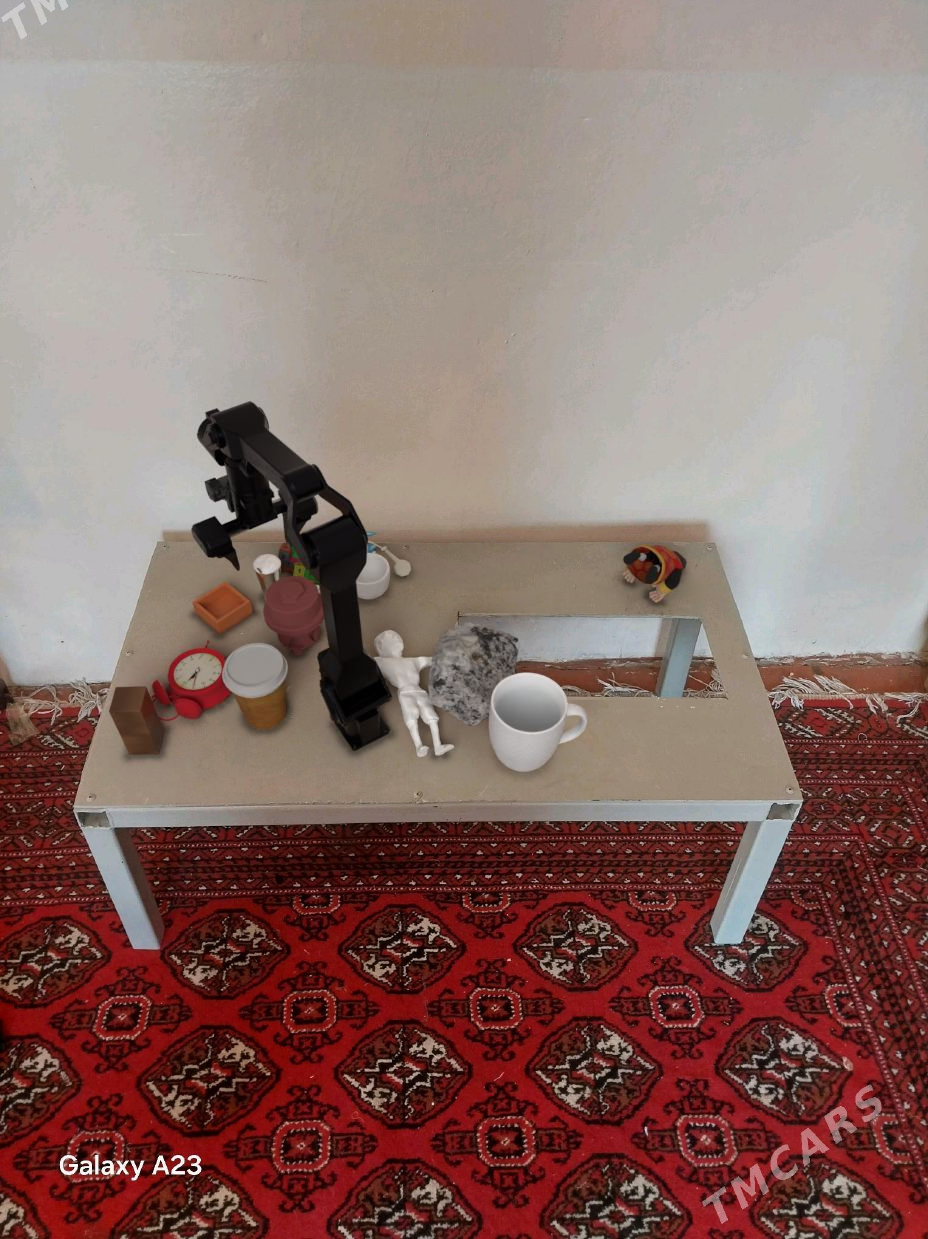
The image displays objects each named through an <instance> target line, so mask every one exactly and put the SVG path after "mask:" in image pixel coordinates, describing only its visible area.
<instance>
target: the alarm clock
mask: <svg viewBox="0 0 928 1239" xmlns="http://www.w3.org/2000/svg"><path fill="white" fill-rule="evenodd" d="M209 643H210V640H209V639H207V640H206V644H205V646H204V647H196V648H192V649H188V650H186V651H184V652H182V653H180V654H179V655H177V656H176V657H175V658H174V659H173V660H172V662H171V663H170V665H169V667H168V671H167V681H168V684H167V686H168V687H167V689H168V690H167V691H168V694H169V695H168V694H167V692H166V690H165V688H164V687H163V685H162V683H161V682H160V681H159V679H156V680H153V682H152V683H151V689H152V693H153V695H150V696H151V699H152V701H153V703H155V701H156V700H157V701H158V703H159V704H161V705H162V706H169V705H172V706H174V710H175V711H176V713H177V715H175V716H173V717H172V718H162V717H160V716H159V718H160V721H164V722H170V721H173V720H175V719H177V718H179V717H182V718H184V719H188V720H196V719H199V718H200V716H201V715H202V713H203V711H204V710H208V709H211V708H214V707H216V706H218V705H219V704H221V703H223V702H224V701H225V700H226V699H227V698H229V697H230V695H231V694H232V691H230V690H229V689H228V688H227V687H226V685H225V683H224V681H223V677H222V671H223V668H224V665H225V662H226V660H227V658H225V657H224V655H223V654H222V653H221V652H219V651H217V650H215V649H214V648H211V647H208V645H209ZM170 699H171V700H172V701H171V700H170Z"/></svg>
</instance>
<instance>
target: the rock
mask: <svg viewBox="0 0 928 1239" xmlns="http://www.w3.org/2000/svg"><path fill="white" fill-rule="evenodd" d="M518 642H519V638H518V637H516V636H513V635H511V634H510V633H508V632H505V631H502V630H500V629H499V628H496V627H494V626H492V625H489V624H484V625H483V624H477V623H474V622H469V621H465V622H464V623H461V624H458V625H456V626H455V628H449V629H447V630H446V631H445V632H444V634H443V635H441V636H439V638H438V639H437V642H436V644H434V647H433V655H432V656H433V657H432V656H431V657H432V660H431V663H432V666H430V668H429V676H428V684H427V687H428V694H429V696H430V701H431V703H432V705H433V706H435V707H437V708H442V709H443V710H444V711H445V712H446V713H449V714H451V715H452V716H453V717H454V718H455V719H457V721H460V722H462V723H463V724H465V725H467V726H469V727H476V726H479V724H480V723H481V722H482V721H483V720H484V719H486V718H489V711H490V703H491V696H492V693H493V690H494V688H495V687H496V686H497V684H498V683H499V682H500V681H502V680H503V679H505V678H506V677H508V676H511V675H514V674H517V661H518V655H519V649H518V647H517V646H516V645H517V643H518Z"/></svg>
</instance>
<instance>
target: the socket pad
mask: <svg viewBox="0 0 928 1239" xmlns="http://www.w3.org/2000/svg"><path fill="white" fill-rule="evenodd" d="M191 603H192V606H193V609H194V612H195V615H196V616H198V617H199V618H200V619H201V620H202V621H203V622H204V623H205V624H206V625H208V626H209V627H210V628H211V629H213V630H214V631H215V632H216V633H217V634H218V635H223V634H224V633H226V632H228V630H230V629H232V628H233V627H234V626H236V625H237V624H239V623H240V622H242V621H244V620H246V619H247V618H248V617H250V616H252V615H253V614H254V611H253V606H252V603H251V600H249V598H247V597H246V596H245V595H243V594H242V593H240V591H238V590H237V589H236V588H234V587H233V586H232V585H231V584H229V582H227V581H226V580H225V581H224V582H222V583H221V584H219V585H218V586H216V587H214V588H212V589H211V590H210V591H209V590H208V592H206V593H205V594H203V595H201V596H200V597H198V598H197V599H195V600H193V601H192V602H191Z"/></svg>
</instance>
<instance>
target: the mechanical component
mask: <svg viewBox="0 0 928 1239" xmlns="http://www.w3.org/2000/svg"><path fill="white" fill-rule="evenodd" d="M281 578H282V579H279V580H277V581H276V582H274V583H273V584H272V585H271V586H270V587H269V588H268V590H267V592H266V596H265V598H266V601H265V602H264V605H263V609H262V614H263V618H264V622H265V624H266V626H267V627H268V628H269V629H270V630H271V631H272V632H273V633H276V634H277V638H278V641H279V643H280V645H282V646H283V647H285V648H286V649H289V650H292V653H293V654H294V655H295V656H299V655H302V654H303V652H304V650H305V649H308V648H311V647H312V646H314V645H315V644H316V643H317V642H318V641H319V639H320V637H321V628H320V627H321V625H322V623H323V622H324V621H325V619H324V613H323V607H322V600H321V594H320V593H318V589H317V586H316V584H314V582H312V581H311V580H309V579H307V578H305V577H300V576H293V575H291V576H286V577H281ZM265 598H264V599H265Z"/></svg>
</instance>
